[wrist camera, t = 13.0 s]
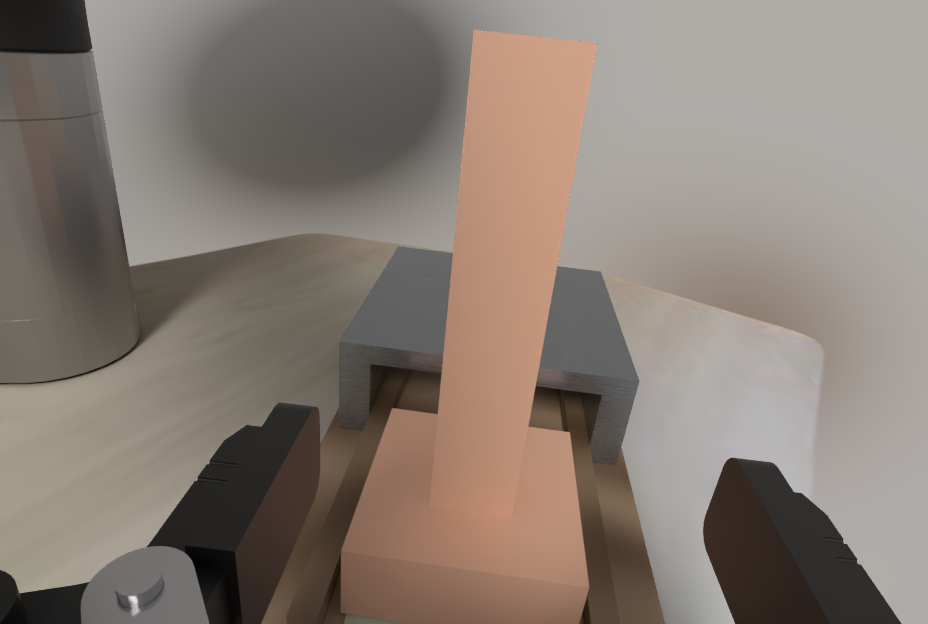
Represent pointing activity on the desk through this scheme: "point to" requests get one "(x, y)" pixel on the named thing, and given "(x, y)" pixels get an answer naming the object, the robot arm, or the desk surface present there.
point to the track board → (352, 451)
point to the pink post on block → (487, 378)
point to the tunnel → (423, 336)
